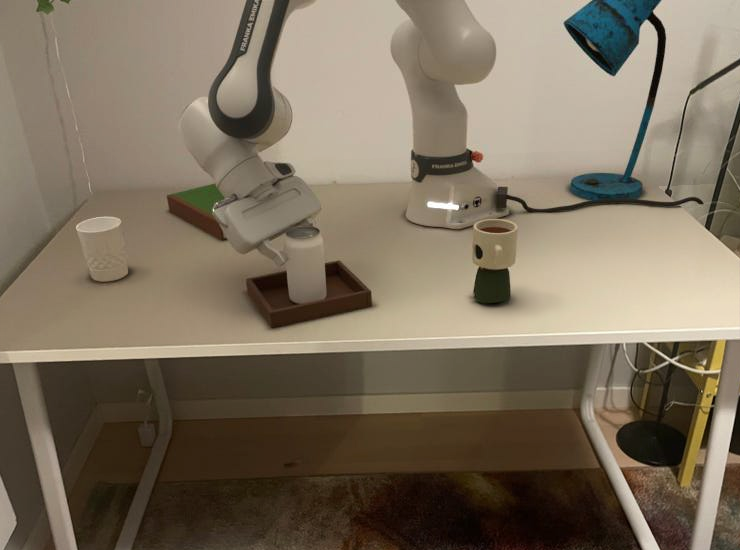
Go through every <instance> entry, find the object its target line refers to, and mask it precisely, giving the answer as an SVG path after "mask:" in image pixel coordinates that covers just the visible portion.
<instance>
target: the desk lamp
mask: <svg viewBox="0 0 740 550" xmlns="http://www.w3.org/2000/svg"><path fill="white" fill-rule="evenodd" d="M661 2H662V0H590V1H589V2H588V3H587V4H585V5H584V6H582V7H580V9H579V10H578V11H576V12H575V13H573V14H572V15H570V16H569V17H568V18H567V19H565V21H563V26H564V29H565V30H566V32H567V33H568V35H569V36H570V37H571V38H572V40H573V41H574V42H575V44H576V45H577V46H578V47H579V48H580V49H581V50H582V51H583V53H585V54H586V56H587V57H588V58H589V59H591V60H592V61H593V63H594V64H596V65H597V66H598V67H599V68H600V69H601V70H602V71H604V72H605V73H606V74H608V75H609V76H611V77H616V75H617V74H618V72H619V71H620V70H621V69H622V67H623V66H624V64H626V62H627V60H628V59H629V58H630V56H631V55H632V53H633V52H634V51H635V50H636V48H637V47H638V46H639V44H640V32H641V27H642V25H643V24H644V23H645V22H646V21H648V22H649V23H650V24H651V25H652V26H653V28H654V29H655V32H656V35H657V37H656V38H657V44H656V45H657V46H656V54H655V55H656V56H655V62H654V68H653V74H652V77H651V82H650V87H649V90H648V95H647V100H646V104H645V107H644V110H643V115H642V117H641V121H640V125H639V127H638V130H637V135H636V137H635V141H634V144H633V147H632V150H631V153H630V156H629V159H628V162H627V165H626V167H625V170H624V173H623V174H620V173H614V172H613V173H612V172H591V173H584V174H580V175H576V176H575V177H573V178H572V179H571V181H570V186H569V191H570V192H571V194H573V195H574V196H577V197H578V198H582V199H584V200H587V201H591V200H600V199H639V198H640V197H641V195H642V194H643V182H642V181H641V180H640V179H637V178H636V177H633V176H632V175H633V172H634V169H635V167H636V164H637V161H638V157H639V155H640V152H641V149H642V145H643V143H644V140H645V136H646V133H647V130H648V126H649V124H650V120H651V116H652V114H653V110H654V107H655V104H656V103H655V102H656V98H657V95H658V90H659V85H660V82H661V77H662V73H663V67H664V61H665V55H666V45H667V33H666V28H665V26H664V24H663V22H662V21H661V19H660V18H659V17H658V16H657V15H656V14H655V13H654V10H656V8H657V7H658V6H659V4H660V3H661Z"/></svg>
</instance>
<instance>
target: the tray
mask: <svg viewBox="0 0 740 550" xmlns="http://www.w3.org/2000/svg"><path fill="white" fill-rule="evenodd" d="M325 276H326V297H325V299H322V300H318V301H313V302H308V303H304V304H296V303H294V302H292V301H291V300H290V298H289V290H288V280H287V270H283V271H278V272H273V273H268V274H263V275H258V276H252V277H247V278H245V284H246V285H245V286H246V293H247V295H248V296H249V298H250V299H251V301H252V302H253V303H254V305H255V306H256V308H257V309H258V311H259V312H260V313H261V315H262V317H263V318H264V320H265V321H266V323H267V324H268V326H269V327H270V329H274V328H275V329H276V328H280V327H284V326H289V325H293V324H297V323H302V322H307V321H311V320H316V319H320V318H324V317H328V316H333V315H339V314H343V313H347V312H351V311H356V310H361V309H365V308H368V307H372V306H373V303H372V299H373V298H372V290H371V289H370V288H369V287H368V286H367V285H366V284H364V282H363V281H361V280H360V279H359V278H358V277H357V275H355V274H354V272H352V271H351V270H350V269H349V268H348V267H347V266H346V264H344V263H343V262H342V261H341V260H334V261H329V262H328V261H327V262H325Z"/></svg>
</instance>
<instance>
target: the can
mask: <svg viewBox="0 0 740 550" xmlns="http://www.w3.org/2000/svg"><path fill="white" fill-rule="evenodd" d="M316 227H317V226H316ZM316 227H313V226H297V227H293V228H290V229H289V230H287V231H286V233H285V238H284V242H283V247H284V253H285V255H286V256H287V257H288V261H287V262H286V263H285V268H286V269H285V271H287V280H288V290H289V298H290V300H291V301H292V302H294V303H296V304H304V303H308V302H313V301H318V300H322V299H325V297H326V276H325V263H326V262H325V261H326V260H325V250H324V249H325V248H324V239H323V236H322V235H321V229H319V228H318V227H317V228H316Z"/></svg>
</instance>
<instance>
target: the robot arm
mask: <svg viewBox="0 0 740 550" xmlns="http://www.w3.org/2000/svg"><path fill="white" fill-rule="evenodd" d="M317 1H318V0H246V1H245V4H244V6H243V11H242V14H241V17H240V21H239V24H238V27H237V31H236V34H235V36H234V37H235V38H234V41H233V43H232V46H231V51H230V53H229V56H228V58H227V60H226V62H225V64H224V66H222V68H221V70H220V71H219V72H218V74H217V76H216V77H215V79H214V80H213V82H212V84H211V85H210V88H209V90H208V91H209V92H208V96H206V95H205V96H199V97H196V98H195V99H194V100H193V101H191V102H190V103H188V105H187V106H186V107H185V108H184V110H183V112H182V113H181V115H180V117H179V121H178V133H179V136H180V138H181V140H182V142H183V144H184V145H185V147H186V148H187V149H188V151H189V153H190V155H191V156H192V157H193V159H194V160H195V161H196V163H197V164H198V165H199V167H200V168H201V169H202V170H203V171H204V172H205V173H207V174H208V175H209V177H211V178H212V180H213V182H214V184H216V187H217V188H218V190H219V191H220V192H221V194H222V195H223V196H224V197H225V199H224V200H222V201H218V202H216V203H215V204H214V207H213V210H212V212H213V213H212V214H213V216H214V218H215V219H216V220H217V221H218V223H219V225H220V227H221V229H222V231H223V233H224V234H225V236H226V238H227V239H226V240H227V242H229V244H230V245H231V247H232V248H233V250H234V251H235V252H237V253H238V254H241V255H246V254H248V253H251V252H252V251H254V250H257V251H258V253H259V254H260V255H262V256H264V257H266V258H268V259H270V260H272V262H273V263H274V264H275V266H277V267H278V268H280V267H282V266H283V265H286V262H287V261H288V257H287V256H286V255H285V250H279V249H277V248H274V247H273V246H272V244H273V243H272V242H271V241H274V240H276V239H278V238H279V237H281V236H284V235H286V231H287V230H289V229H290V228H293V227H297V226H313V227H316V228H318V227H317V222H316V220H315V218H316V217H317V216H318V215H319V214H320V213H321V211H322V202H321V201H320V199H319V197H318V196H317V195H316V194H315V192H314V190H312V188H311V187H310V186H309V185H308V184H307V183H306V181H305V180H304V179H302V177H300V176H298V175H295V174H296V172H297V171H296V168H295V167H294V165H292V163H290V162H273V161H266V160H265V161H264V160H263V159H262V158H261V156H260V154H259V153H261V152H263V151H265V150H267V149H269V148H270V147H272V146H273V145H275V144H276V143H278V142H279V141H281V140H282V139H284V137H286V136H287V134H288V133H289V131H290V129H291V126H292V123H293V109H292V106H291V103H290V102H289V100H288V98H287V97H286V96H285V95H284V94H283V93H282V92H281V91H279V90H278V89H277V88H276V87H275V86H273V81H272V69H273V65H274V63H275V59H276V55H277V52H278V48H279V46H280V41H281V37H282V35H283V32H284V28H285V26H286V23H287V21H288V19H289V17H290V16H291V15H292V14H293V13H294V12H295V11H298V10H303V9H306V8H308V7H310V6H311V5H314V3H316V2H317ZM395 2H396V4H397V5H398V7H399V8H400V9H401V10H402V11H403V12H405V14H406V15H407V16H408V18H409V19H406V20H404V21H403V22H401V23H400V24H398V26H396V28H395V30H394V31H393V33H392V36H391V39H390V54H391V58H392V60H393V61H394V63H395V64H396V66H398V69H399V71H400V73H401V75H402V78H403V81H404V84H405V87H406V92H407V95H408V98H409V103H410V107H411V116H412V149H411V151H410V177H411V185H410V194H409V200H408V203H407V208H406V211H405V218H406V219H407V220H408V221H409V222H411V223H414V224H417V225H421V226H426V227H434V228H435V227H437V228H446V229H452V230H462V229H465V228H468V227H473V226H474V224H475V223H477V222H478V221H482V220H486V219H500V218H503V217H505V216H509V214H510V207H509V206H508V201H512V202H513V201H514V202H516V203H519V204H521V206H522V208H523V209H524V210H525V211H526V212H529V213H554V212H561V211H569V210H575V209H579V208H582V207H587V206H591V205H601V204H639V205H648V206H659V207H675V206H681V205H683V204H686V203H689V202H695V203H697V204H698V205H700V206H701V205H705V202H704V201H703V200H702V199H701V198H699V197H696V196H689V197H685V198H683V199H679V200H675V201H657V200H649V199H640V198H635V199H600V200H586V201H583V202H578V203H574V204H569V205H561V206H554V207H548V208H533V207H529V206H528V204H527V202H526V201H525V200H524V199H523V198H520V197H517V196H514V195H510V194H508V191H509V187H508V186H497V184H496V182H495V181H494V180H493V179H492V178H491V177H489V176H488V175H486V174H485V173H484V172H482V171H481V170H480V169H479V168H477V167H476V166H474V162H476V163H482V161H483V160H484V154H483V153H482V152H479V151H477V150H474V151H473V150H471V149H469V148H467V145H468V144H467V142H468V118H469V117H468V111H467V108H466V106H465V104H464V103H463V101H462V100H461V98H460V97H459V94H458V91H457V88H456V86H461V85H462V86H465V85H473V84H479V83H481V82H483V81H484V80H486V79H487V77H489V75H490V74H491V72H492V70H493V69H494V67H495V63H496V60H497V44H496V42H495V41H496V40H495V39H494V37H493V35H492V34H491V33H490V32H489V31H488V30H487V29H486V28H485V27H483V26H482V25H481V23H480V22H479V20H477V18H476V16H475V15H474V14H473V12H472V11H471V9H470V7H469V6H468V4H467V2H466V0H395ZM215 209H216V210H215Z"/></svg>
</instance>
